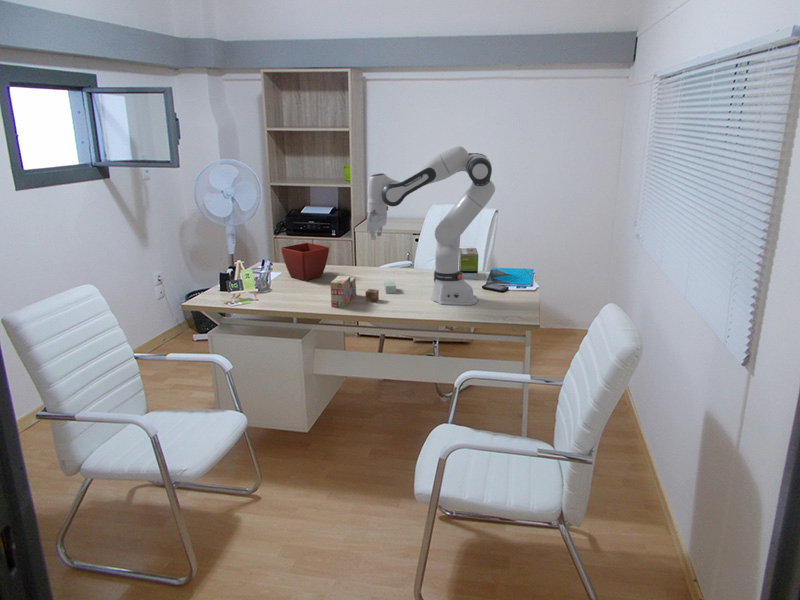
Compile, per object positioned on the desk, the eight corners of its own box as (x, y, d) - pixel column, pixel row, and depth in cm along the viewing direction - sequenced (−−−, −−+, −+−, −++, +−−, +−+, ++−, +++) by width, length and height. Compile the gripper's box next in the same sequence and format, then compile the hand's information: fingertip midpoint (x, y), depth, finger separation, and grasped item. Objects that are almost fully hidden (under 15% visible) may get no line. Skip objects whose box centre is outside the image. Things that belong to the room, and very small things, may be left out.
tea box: (458, 272, 338) (458, 247, 333) (475, 273, 337) (476, 247, 333) (459, 279, 323) (460, 253, 319) (477, 280, 323) (479, 253, 318)
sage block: (394, 289, 305) (394, 281, 304) (395, 293, 298) (395, 285, 297) (384, 289, 305) (384, 282, 304) (386, 293, 297) (386, 286, 296)
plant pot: (308, 270, 340) (307, 242, 335) (331, 276, 328) (330, 246, 323) (281, 277, 326) (280, 247, 321) (304, 283, 314) (303, 252, 309)
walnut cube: (378, 299, 287) (378, 289, 286) (375, 302, 283) (375, 292, 281) (368, 298, 289) (368, 289, 287) (365, 301, 284) (365, 291, 282)
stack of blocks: (344, 294, 296) (343, 270, 292) (356, 295, 295) (355, 271, 291) (331, 307, 276) (330, 281, 272) (344, 308, 275) (343, 282, 271)
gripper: (376, 212, 266) (376, 242, 270) (389, 206, 285) (388, 234, 289) (363, 211, 268) (363, 241, 272) (376, 205, 286) (376, 233, 291)
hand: (376, 237), depth 281 cm, fingers open, 8 cm apart
